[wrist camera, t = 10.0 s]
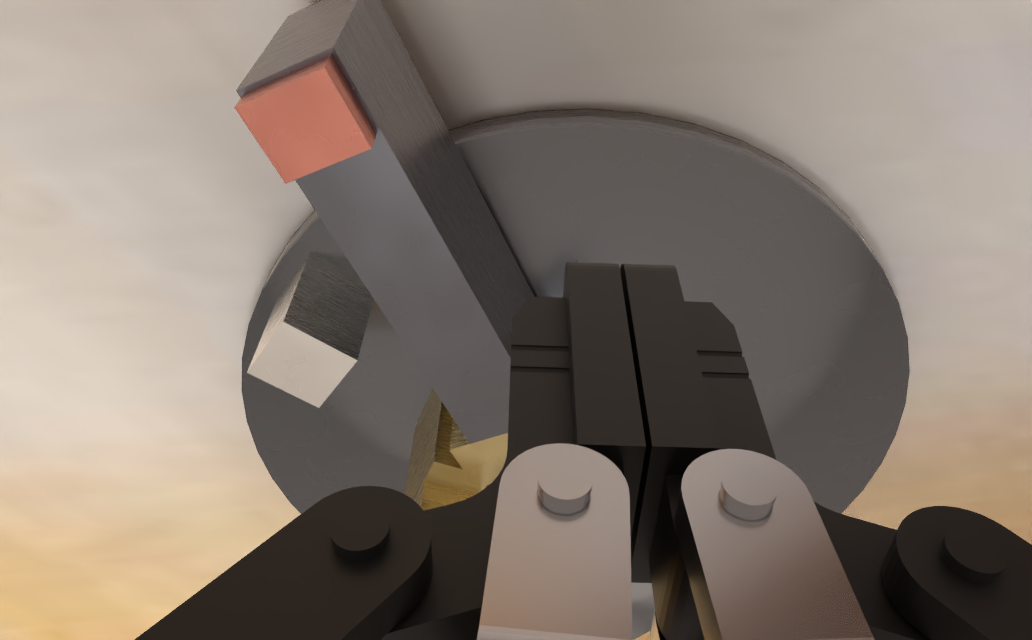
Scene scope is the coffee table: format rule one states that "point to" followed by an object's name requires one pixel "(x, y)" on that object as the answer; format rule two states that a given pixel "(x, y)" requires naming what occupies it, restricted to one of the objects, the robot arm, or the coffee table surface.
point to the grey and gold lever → (398, 223)
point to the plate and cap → (542, 259)
